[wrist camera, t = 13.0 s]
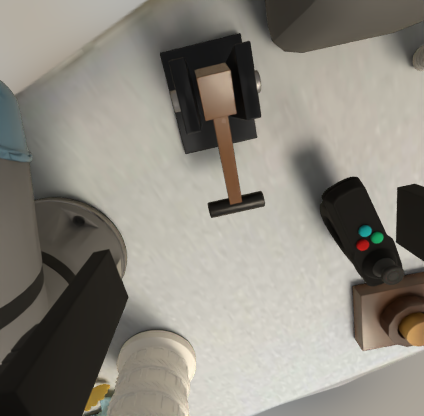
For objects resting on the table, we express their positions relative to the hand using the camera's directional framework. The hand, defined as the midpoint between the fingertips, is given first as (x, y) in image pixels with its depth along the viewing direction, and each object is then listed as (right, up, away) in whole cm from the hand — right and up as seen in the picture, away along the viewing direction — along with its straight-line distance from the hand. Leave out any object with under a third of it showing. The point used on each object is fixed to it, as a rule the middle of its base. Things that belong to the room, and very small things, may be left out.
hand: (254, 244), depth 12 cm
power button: (+25, -14, +23) cm, 37 cm away
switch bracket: (-2, +13, +17) cm, 21 cm away
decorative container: (-10, -21, +29) cm, 37 cm away
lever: (-1, +7, +10) cm, 12 cm away
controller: (+13, +1, +22) cm, 25 cm away
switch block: (+25, -12, +27) cm, 38 cm away
